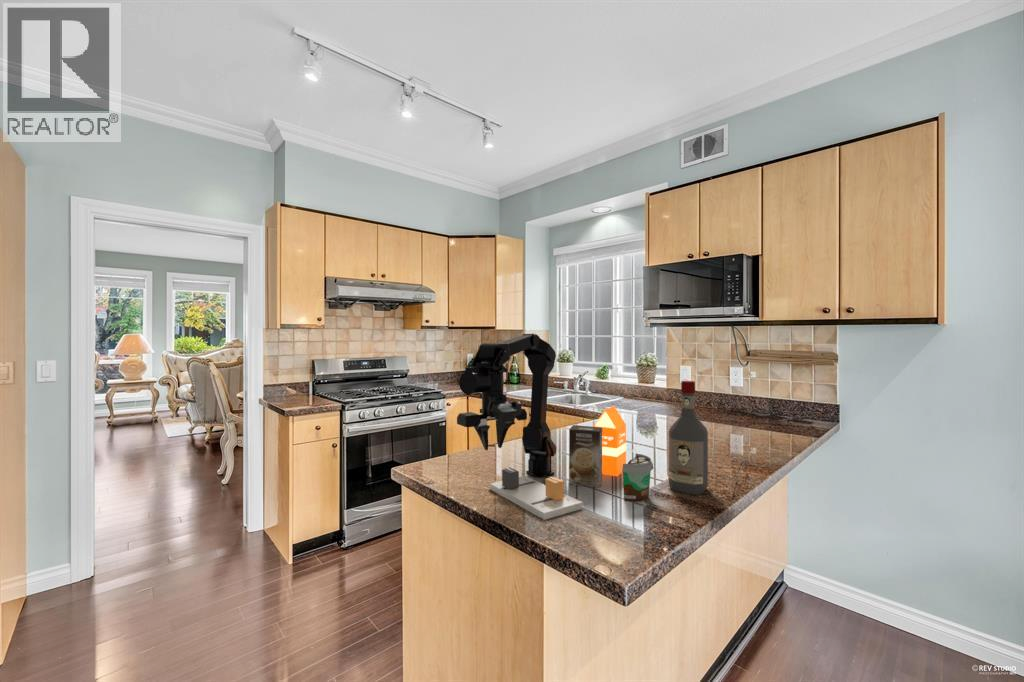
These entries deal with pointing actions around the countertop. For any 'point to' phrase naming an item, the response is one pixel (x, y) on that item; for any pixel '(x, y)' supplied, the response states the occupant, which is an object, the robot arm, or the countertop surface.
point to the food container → (637, 478)
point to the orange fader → (554, 488)
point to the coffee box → (585, 455)
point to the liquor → (688, 447)
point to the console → (536, 498)
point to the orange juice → (612, 441)
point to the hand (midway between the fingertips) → (493, 448)
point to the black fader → (510, 478)
